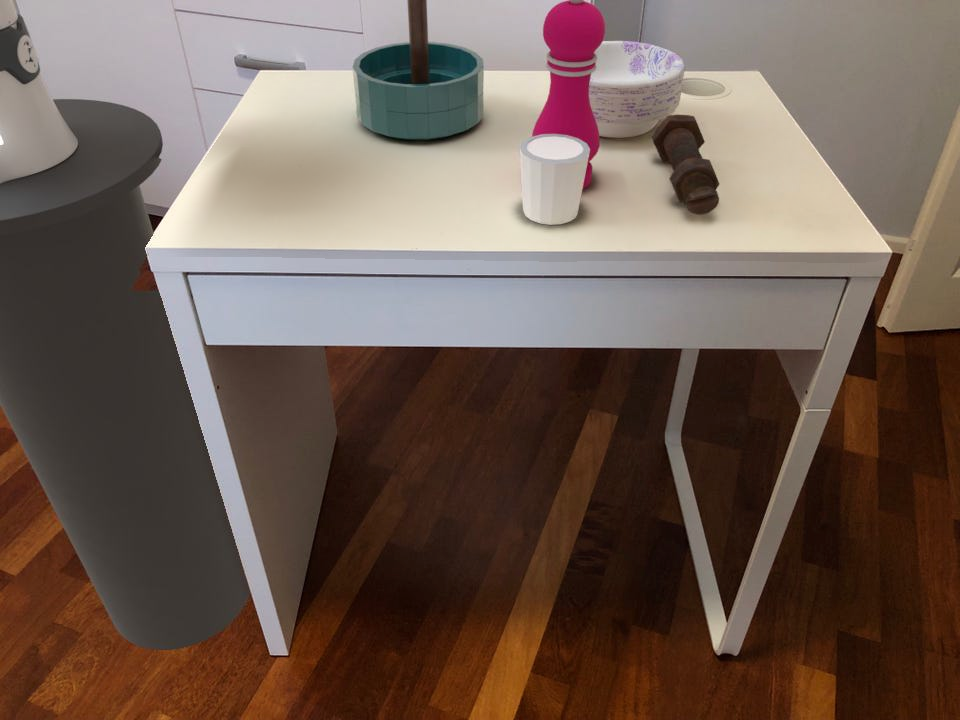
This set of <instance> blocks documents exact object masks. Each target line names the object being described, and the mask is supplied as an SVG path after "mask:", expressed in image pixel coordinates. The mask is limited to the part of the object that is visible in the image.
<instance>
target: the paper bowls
mask: <svg viewBox="0 0 960 720" xmlns="http://www.w3.org/2000/svg"><path fill="white" fill-rule="evenodd" d="M594 53H595V54H596V55H597V61H596V70H595V71H594V72H593V73H591V77H590V82H589V100H590V106H591V109H592V112H593V115H594V117H595V120H596V123H597V126H598V131H599V137H604V138H612V139H613V138H615V139H623V138H625V139H626V138H633V137H637V136H640V135H643V134H646V133H648V132H649V131H651V130H653V129H654V128H655V126H656V125H657V124H658V122H659V121H660V120H661V119H663V118H666V117H667V116H670V115H671V114H673V113H674V112H676V110H677V109H678V107H679V105H680V102H681V98H682V97H681V96H682V91H683V81H684V76H685V69H686V67H685V63H684V60H683V59H682V58H681V57H680V56H679V55H678V54H677V53H675V52H674V51H671V50H669V49H667V48H664V47H662V46H658V45H654V44H650V43H645V42H640V41H632V40H631V41H629V40H607V41H606V40H603V41H602V43H601V45H600V46H599V47H598V48H597V49H596V50H595V52H594Z"/></svg>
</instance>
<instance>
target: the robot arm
mask: <svg viewBox="0 0 960 720" xmlns="http://www.w3.org/2000/svg"><path fill="white" fill-rule="evenodd" d="M77 146H78V140H77V138H76V137H75V135H74V134H73V132H72V131H71V130H70V128H69V127H68V125H67V124H66V122H65V121H64V119H63V117H62V116H61V114H60V112H59V110H58V109H57V107H56V105H55V103H54V101H53V97H52V96H51V93H50V91H49V90H48V87H47V85H46V83H45V81H44V79H43V76H42V74H41V66H40V63H39V58H38V55H37V51H36V48H35V46H34V43H33V41H32V38H31V35H30V32H29V30H28V27H27V25H26V22H25V20H24V17H23V16H22V15H21V14H19V13H18V11H17V9H16V6H15V3H14V1H13V0H0V184H1V183H3V182H6V181H9V180H13V179H17V178H21V177H25V176H28V175H32V174H35V173H38V172H41V171H43V170H46V169H48V168H51V167H53V166H55V165H57V164H59V163H60V162H62V161H64V160H65V159H67V158H68V157H69V156H70V155H72V154H73V152H74V151H75V150H76V148H77Z"/></svg>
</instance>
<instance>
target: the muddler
mask: <svg viewBox="0 0 960 720" xmlns="http://www.w3.org/2000/svg"><path fill="white" fill-rule="evenodd" d="M406 1H407V14H408V15H407V17H408V19H407V21H408V38H409V39H408V40H409V41H408V42H410V61H411V80H412V84H430V78H429V51H428V42H429V23H428V1H427V0H406Z"/></svg>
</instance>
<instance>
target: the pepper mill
mask: <svg viewBox="0 0 960 720" xmlns="http://www.w3.org/2000/svg"><path fill="white" fill-rule="evenodd" d="M605 34H606V22H605V19H604V16H603V14H602V12H601V11H600V10H599V8H598V7H597V6H595V5H594V4H593V3H591V2H588V1H585V0H564V1H561V2H559V3H557V4H556V5H554V6H553V7H551V9H550V10H549V11H548V12H547V15H546V16H545V19H544V22H543V26H542V37H543V41H544V43H545V44H546V46H547V47H548V49H549V51H548V52H547V53H546V64H545V68H546V70H547V71H549V77H550V79H549V80H550V82H549V91H548V95H547V99H546V102H545V104H544V106H543V108H542V110H541V112H540V114H539V115H538V118H537V120H536V122H535V124H534V127H533V130H532V133H531V135H532V136H531V137H533V136H537V135H541V134H561V135H568V136H572V137H575V138H578V139H580V140H582V141H583V142H585V143H587V145H588V146H589V148H590V153H589V158H588V163H587V168H586V173H585V178H584V183H583V188H582V190H584V189H585V188H587V187H589V185H590V184H591V182H592V176H593V175H592V174H593V164H592V163H591V162H590V161H592V160H593V159H594V158H595V156H596V155H597V154H598V152H599V148H600V136H599V131H598V126H597V123H596V120H595V117H594V115H593V112H592V109H591V106H590V100H589V82H590V77H591V73H593V72H594V71H595V70H596V61H597V55H596V54H595V53H594V52H595V50H596V49H597V48H598V47H599V46H600V45H601V43H602V41H604V38H605Z"/></svg>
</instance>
